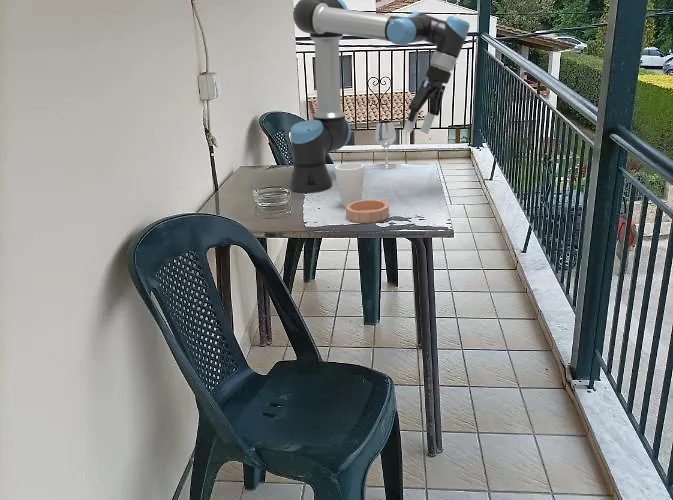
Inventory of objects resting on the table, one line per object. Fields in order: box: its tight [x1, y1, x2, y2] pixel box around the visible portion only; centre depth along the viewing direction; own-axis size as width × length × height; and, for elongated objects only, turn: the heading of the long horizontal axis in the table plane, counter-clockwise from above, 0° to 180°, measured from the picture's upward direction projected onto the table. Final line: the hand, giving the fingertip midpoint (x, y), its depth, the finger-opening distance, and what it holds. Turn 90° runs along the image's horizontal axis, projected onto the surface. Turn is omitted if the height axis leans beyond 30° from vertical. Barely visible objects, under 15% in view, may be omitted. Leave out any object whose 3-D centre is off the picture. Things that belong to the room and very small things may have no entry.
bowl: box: [345, 199, 390, 224], centre depth 197 cm, size 13×13×3 cm
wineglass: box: [374, 119, 397, 170], centre depth 250 cm, size 8×8×18 cm
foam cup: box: [334, 162, 365, 208], centre depth 207 cm, size 10×9×13 cm
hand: (415, 131), depth 208 cm, fingers open, 13 cm apart
